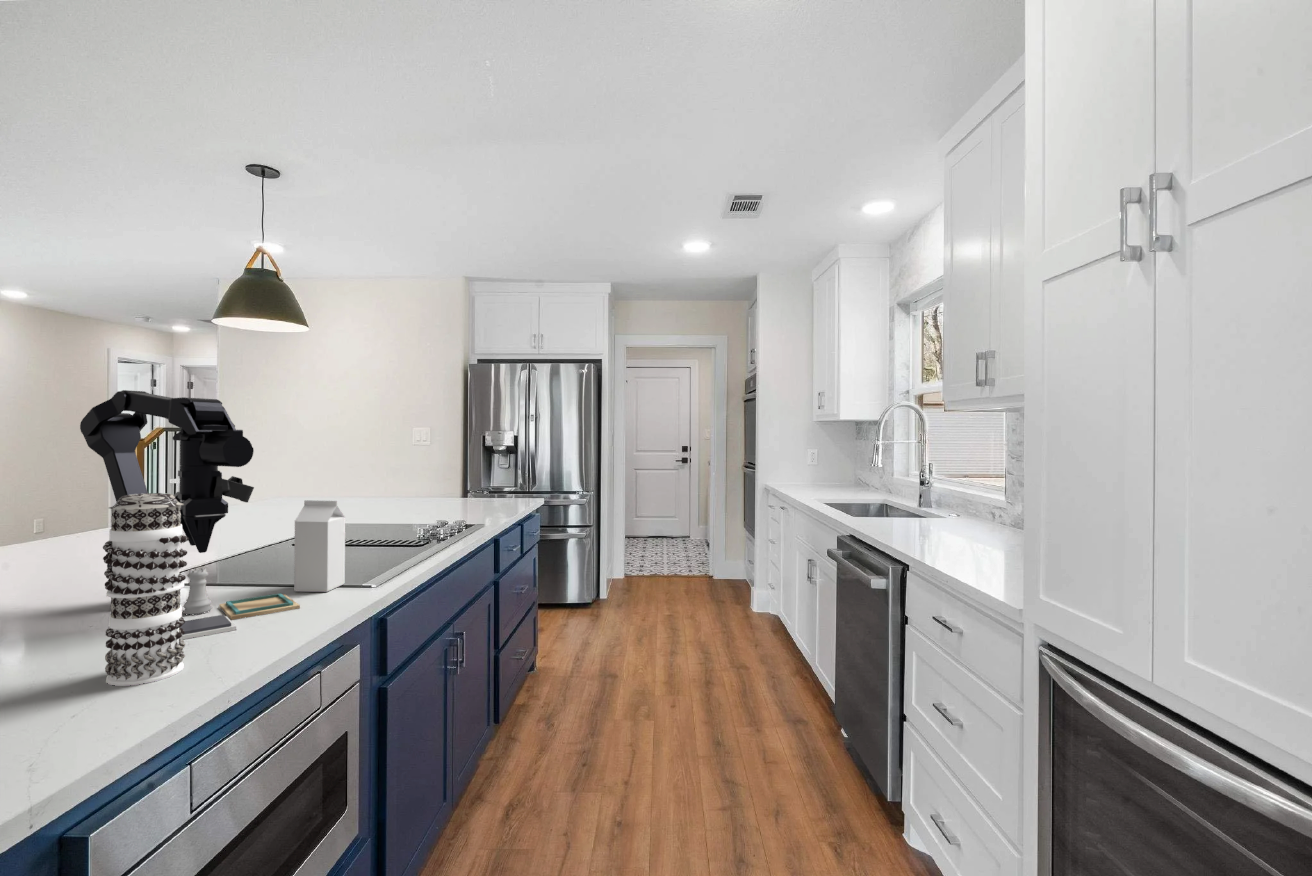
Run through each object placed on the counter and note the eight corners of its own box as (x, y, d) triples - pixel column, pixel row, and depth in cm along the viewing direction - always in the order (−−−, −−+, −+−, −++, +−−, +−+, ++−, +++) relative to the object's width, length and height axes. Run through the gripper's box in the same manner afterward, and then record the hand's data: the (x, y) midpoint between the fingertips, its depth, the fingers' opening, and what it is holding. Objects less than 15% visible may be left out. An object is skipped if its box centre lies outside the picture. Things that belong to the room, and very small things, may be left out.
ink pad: (170, 628, 105) (170, 622, 105) (226, 619, 110) (226, 613, 110) (177, 640, 99) (177, 633, 99) (236, 629, 105) (236, 623, 105)
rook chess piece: (196, 616, 112) (196, 572, 112) (176, 614, 113) (176, 571, 113) (218, 609, 117) (218, 567, 116) (198, 607, 117) (199, 566, 117)
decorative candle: (177, 656, 92) (178, 490, 92) (196, 672, 86) (197, 494, 86) (96, 674, 85) (96, 494, 85) (110, 693, 79) (111, 499, 79)
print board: (219, 607, 118) (219, 601, 118) (284, 596, 126) (284, 591, 126) (231, 619, 110) (231, 613, 110) (299, 608, 118) (299, 602, 118)
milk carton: (327, 592, 129) (327, 502, 129) (293, 592, 130) (294, 502, 129) (344, 584, 137) (345, 499, 136) (313, 583, 137) (314, 498, 137)
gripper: (261, 466, 114) (260, 550, 114) (239, 462, 127) (238, 537, 127) (186, 468, 106) (185, 558, 106) (171, 463, 119) (170, 543, 119)
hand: (198, 548), depth 115 cm, fingers open, 9 cm apart
